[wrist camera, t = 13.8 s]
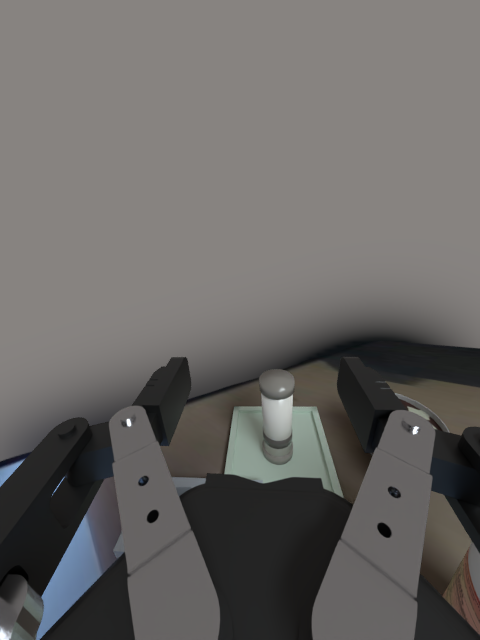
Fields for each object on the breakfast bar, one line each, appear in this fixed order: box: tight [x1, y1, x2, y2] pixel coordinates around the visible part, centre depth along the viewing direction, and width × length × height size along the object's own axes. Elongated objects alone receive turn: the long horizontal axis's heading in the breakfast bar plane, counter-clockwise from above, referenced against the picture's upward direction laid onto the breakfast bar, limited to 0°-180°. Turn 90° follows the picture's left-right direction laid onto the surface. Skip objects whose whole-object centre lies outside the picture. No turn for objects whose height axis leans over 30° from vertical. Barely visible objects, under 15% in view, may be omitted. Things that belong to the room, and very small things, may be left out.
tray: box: [224, 407, 344, 498], centre depth 38 cm, size 16×18×1 cm
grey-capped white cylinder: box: [259, 369, 294, 465], centre depth 35 cm, size 5×5×14 cm
